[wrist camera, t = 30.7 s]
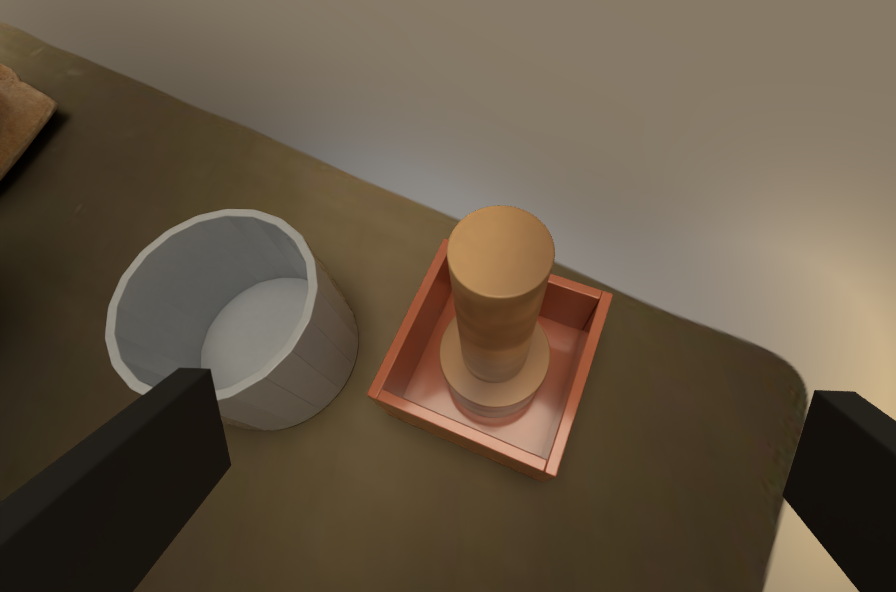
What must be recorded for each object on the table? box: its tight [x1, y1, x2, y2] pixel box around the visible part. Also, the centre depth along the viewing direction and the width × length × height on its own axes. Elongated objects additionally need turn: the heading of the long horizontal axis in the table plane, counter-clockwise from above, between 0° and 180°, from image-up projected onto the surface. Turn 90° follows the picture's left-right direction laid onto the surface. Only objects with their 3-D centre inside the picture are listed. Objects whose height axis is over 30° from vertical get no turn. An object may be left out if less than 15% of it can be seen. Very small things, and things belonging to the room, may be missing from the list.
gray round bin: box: [105, 209, 358, 431], centre depth 27 cm, size 11×11×8 cm
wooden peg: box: [439, 205, 555, 418], centre depth 22 cm, size 6×6×15 cm
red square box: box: [367, 238, 613, 482], centre depth 27 cm, size 10×10×6 cm
